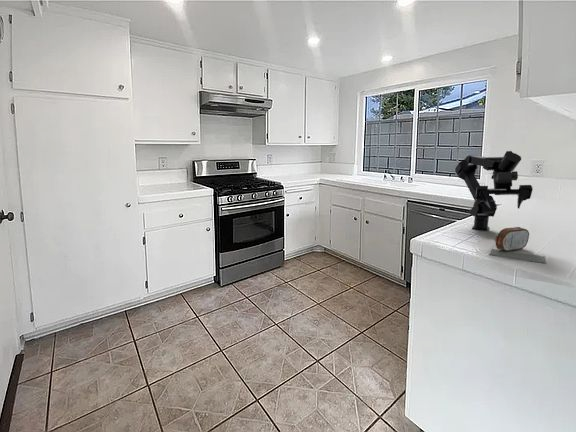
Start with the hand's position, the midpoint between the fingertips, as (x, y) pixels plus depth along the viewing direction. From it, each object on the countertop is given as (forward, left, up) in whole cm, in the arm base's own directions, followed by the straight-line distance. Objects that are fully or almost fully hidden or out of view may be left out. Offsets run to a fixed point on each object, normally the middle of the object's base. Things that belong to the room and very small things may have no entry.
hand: (504, 207), depth 127 cm
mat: (+13, +6, -15) cm, 21 cm away
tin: (+7, +4, -15) cm, 17 cm away
